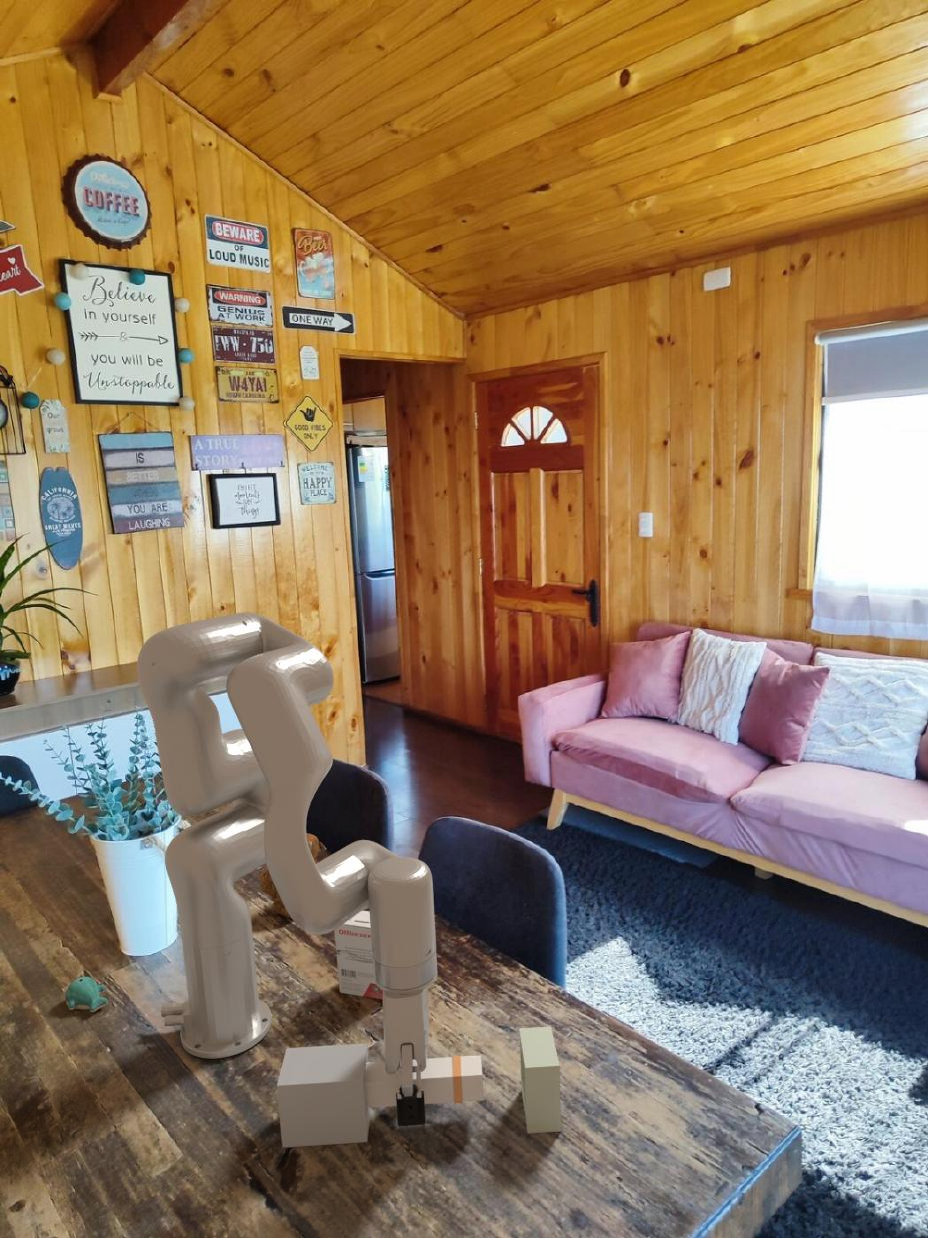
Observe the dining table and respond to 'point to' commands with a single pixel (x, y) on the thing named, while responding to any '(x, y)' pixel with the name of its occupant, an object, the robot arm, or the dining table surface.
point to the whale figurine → (85, 994)
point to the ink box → (356, 957)
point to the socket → (540, 1080)
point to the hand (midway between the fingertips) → (413, 1093)
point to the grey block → (323, 1095)
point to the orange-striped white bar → (428, 1081)
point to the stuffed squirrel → (268, 883)
